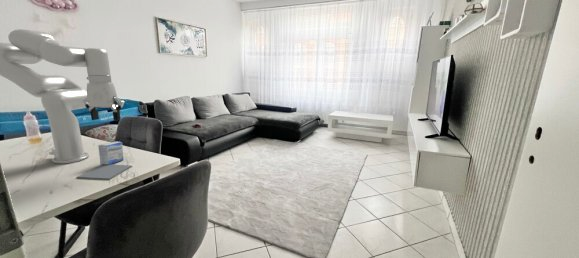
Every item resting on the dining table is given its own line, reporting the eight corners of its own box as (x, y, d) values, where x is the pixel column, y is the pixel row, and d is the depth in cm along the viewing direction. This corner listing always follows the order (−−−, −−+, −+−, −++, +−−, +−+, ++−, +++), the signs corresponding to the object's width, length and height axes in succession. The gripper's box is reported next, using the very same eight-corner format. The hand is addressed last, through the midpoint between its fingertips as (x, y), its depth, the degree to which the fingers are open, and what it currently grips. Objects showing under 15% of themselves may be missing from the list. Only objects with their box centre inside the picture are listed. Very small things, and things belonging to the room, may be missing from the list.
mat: (76, 178, 94) (76, 176, 94) (103, 165, 107) (102, 164, 107) (109, 179, 94) (109, 178, 94) (132, 166, 107) (131, 165, 106)
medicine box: (108, 165, 106) (106, 145, 105) (99, 164, 107) (97, 144, 105) (123, 160, 114) (122, 141, 112) (115, 159, 114) (114, 141, 113)
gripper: (71, 79, 98) (79, 121, 102) (113, 80, 98) (119, 122, 102) (87, 78, 106) (94, 117, 110) (126, 80, 105) (131, 119, 109)
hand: (106, 120), depth 106 cm, fingers open, 9 cm apart
